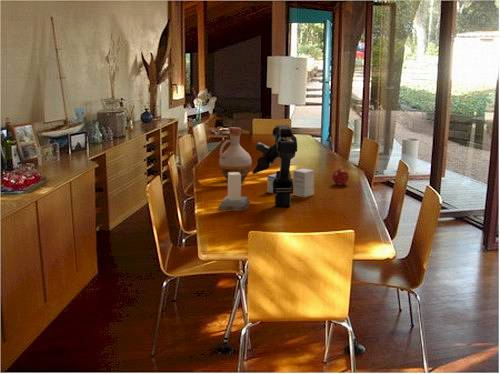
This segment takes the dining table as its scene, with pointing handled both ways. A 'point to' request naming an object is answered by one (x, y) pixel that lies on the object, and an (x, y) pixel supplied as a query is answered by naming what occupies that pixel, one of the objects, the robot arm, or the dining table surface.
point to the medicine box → (270, 183)
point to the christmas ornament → (340, 176)
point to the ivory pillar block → (234, 186)
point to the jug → (234, 156)
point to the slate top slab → (234, 202)
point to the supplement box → (303, 182)
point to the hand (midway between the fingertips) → (254, 171)
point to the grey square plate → (234, 207)
